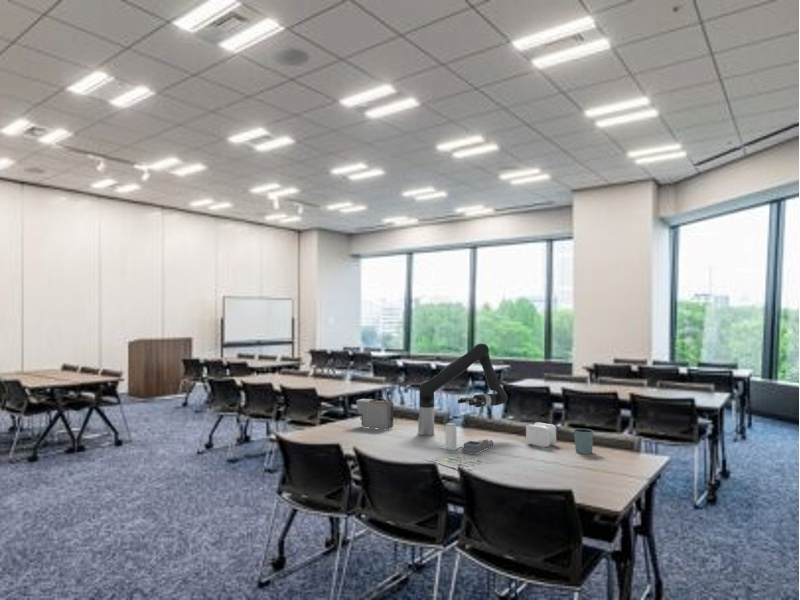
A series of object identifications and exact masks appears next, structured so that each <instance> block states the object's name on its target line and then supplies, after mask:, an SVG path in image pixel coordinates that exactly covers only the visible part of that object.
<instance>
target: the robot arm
mask: <svg viewBox="0 0 800 600" xmlns="http://www.w3.org/2000/svg"><path fill="white" fill-rule="evenodd" d="M489 353H490V349H489V346H488V345H487V344H486V343H484V342H479V343H477V344H476V345H475V346H474V347H472V348H471V349H470V350H469V351H468V352H466V353H465V354H464V355H462V356H460V357H458V358H456V359H455V360H453V361H452V362H450V363H449V364H447V365H446V366H445V367H444V368H443V369H441V370H440V371H439V373H437V374H436V375H435V376H433V377H432V378H431V379H429V380H424V381H422V382H421V383H420V385H419V418H417V425H418V426H417V434H418V435H421V436H433V435H434V434H435V392H437V390H439V389H440V388H441V387H442V386H444V385H445V384H447V383H449V382H451V381H453V380H454V379H456V378H457V377H459V376H460V375H462V373H464V372H465V371H466V370H468V369H469V368H470V366H472V365H473V364H474V363H475V362H477V361H478V362H479V363H480V365H481V368H482V370H483V373H484V377H485V380H486V382H487V386H488V388H489V391H495V392H496V393H479V394H474V395H473V397H460V398H458V399H457V403H458V404H466V405H468V406H474V407H475V408H486V407H487V406H499V405H503V404H506V403H507V402H508V395H507V393H506V391H505V389H504V388H503V387H502V386H501V384H500V381H499V379H498V376H497V374H496V371H495V369H494V367H493V365H492V362H491V359H490V354H489Z"/></svg>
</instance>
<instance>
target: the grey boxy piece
mask: <svg viewBox="0 0 800 600" xmlns="http://www.w3.org/2000/svg"><path fill="white" fill-rule="evenodd" d="M384 385H385V388H387V387H386V384H384ZM385 395H386V397H385V398H386V399H385V398H384V397H378V398H376V399H372V398H371V399H370V398H361V399H356V406H357V407H356V408H357V413H358V414H359V415H360V416H359V419H360V421H361V423H360V424H361V427H362V426H363V427H369V428H378V429H389V428H391V427H393V428H394V402H393V401H390V400H388V393H387V392H385ZM379 399H381V400H379ZM378 429H377V430H378ZM391 429H392V428H391ZM389 430H390V429H389Z"/></svg>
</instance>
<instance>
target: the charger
mask: <svg viewBox="0 0 800 600" xmlns="http://www.w3.org/2000/svg"><path fill="white" fill-rule="evenodd" d="M445 445H446V447H449V448H454V447H456V446H457V423H453V422H447V423H445Z"/></svg>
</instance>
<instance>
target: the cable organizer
mask: <svg viewBox="0 0 800 600" xmlns="http://www.w3.org/2000/svg"><path fill="white" fill-rule="evenodd" d="M525 442H526V443H527V444H529V445H530V444H532V445H531V446H539V447H540V448H547V447H550V446H553V445H556V443H557V427H556V425H554V424H550V423H544V422H537V421H536V422H534V424H527V425H526V426H525Z"/></svg>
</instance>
